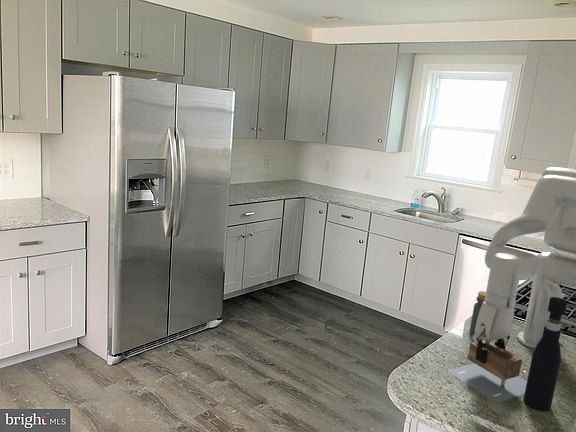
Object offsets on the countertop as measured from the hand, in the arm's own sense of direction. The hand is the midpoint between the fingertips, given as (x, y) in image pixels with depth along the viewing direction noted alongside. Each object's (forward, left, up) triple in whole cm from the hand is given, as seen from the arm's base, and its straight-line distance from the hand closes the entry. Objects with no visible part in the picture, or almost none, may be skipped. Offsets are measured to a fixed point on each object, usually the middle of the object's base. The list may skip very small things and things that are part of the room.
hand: (489, 358), depth 138 cm
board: (-1, +2, -7) cm, 7 cm away
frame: (0, +2, -2) cm, 2 cm away
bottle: (-24, -22, -7) cm, 34 cm away
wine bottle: (-2, +15, -7) cm, 16 cm away
